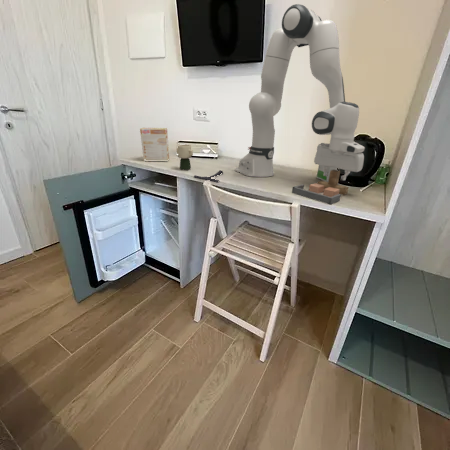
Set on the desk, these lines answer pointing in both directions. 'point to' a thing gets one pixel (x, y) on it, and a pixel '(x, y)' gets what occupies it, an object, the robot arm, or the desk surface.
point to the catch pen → (315, 195)
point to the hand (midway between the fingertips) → (334, 178)
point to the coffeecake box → (155, 143)
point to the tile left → (316, 188)
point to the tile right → (331, 191)
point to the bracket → (209, 177)
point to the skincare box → (320, 173)
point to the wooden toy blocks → (334, 182)
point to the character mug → (184, 156)
